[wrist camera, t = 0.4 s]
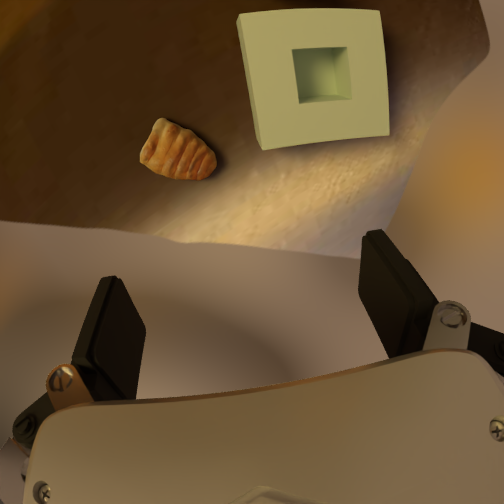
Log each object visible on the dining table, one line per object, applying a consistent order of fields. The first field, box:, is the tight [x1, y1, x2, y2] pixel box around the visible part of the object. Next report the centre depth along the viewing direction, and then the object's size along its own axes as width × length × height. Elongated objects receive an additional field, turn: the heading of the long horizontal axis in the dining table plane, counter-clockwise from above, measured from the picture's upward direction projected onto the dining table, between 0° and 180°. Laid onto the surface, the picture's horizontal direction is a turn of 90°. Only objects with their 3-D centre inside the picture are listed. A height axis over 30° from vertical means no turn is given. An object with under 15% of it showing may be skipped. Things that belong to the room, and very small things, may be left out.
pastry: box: [140, 118, 217, 180], centre depth 36 cm, size 9×7×4 cm
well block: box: [237, 8, 389, 150], centre depth 31 cm, size 15×15×6 cm
